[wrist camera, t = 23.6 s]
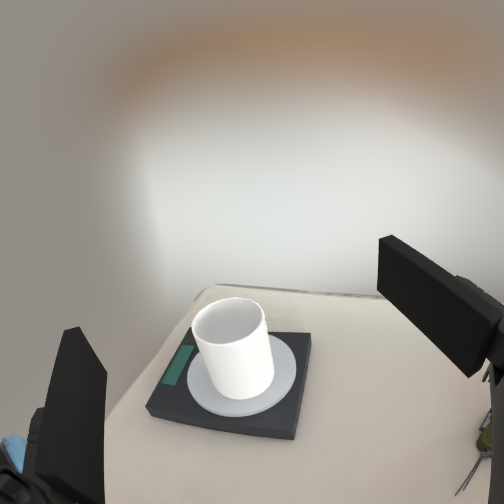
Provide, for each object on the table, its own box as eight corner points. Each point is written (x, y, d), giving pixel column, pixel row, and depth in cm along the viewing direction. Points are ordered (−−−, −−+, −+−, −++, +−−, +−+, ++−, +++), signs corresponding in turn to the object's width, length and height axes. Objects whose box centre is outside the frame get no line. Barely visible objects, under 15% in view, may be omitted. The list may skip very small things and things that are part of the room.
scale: (151, 415, 39) (142, 403, 38) (193, 337, 53) (188, 323, 52) (294, 439, 33) (292, 427, 32) (311, 343, 48) (310, 328, 46)
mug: (196, 354, 45) (175, 298, 40) (246, 332, 48) (233, 276, 43) (227, 412, 35) (204, 356, 30) (287, 383, 38) (277, 324, 33)
